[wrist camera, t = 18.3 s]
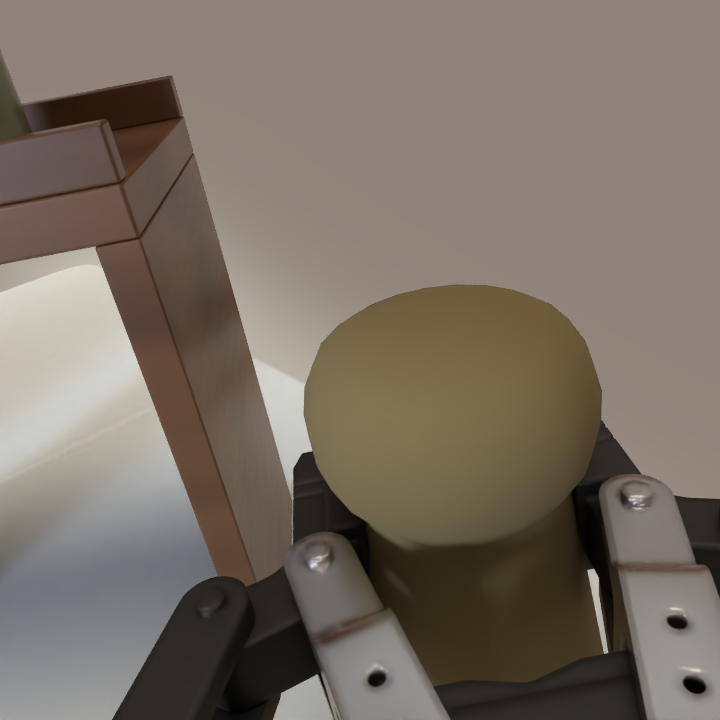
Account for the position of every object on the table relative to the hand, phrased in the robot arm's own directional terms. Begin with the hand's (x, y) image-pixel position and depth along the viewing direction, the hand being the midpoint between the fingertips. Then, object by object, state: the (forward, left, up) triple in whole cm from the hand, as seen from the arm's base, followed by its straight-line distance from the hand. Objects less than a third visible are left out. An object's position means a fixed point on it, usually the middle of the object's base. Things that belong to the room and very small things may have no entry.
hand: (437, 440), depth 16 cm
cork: (0, -3, -7) cm, 7 cm away
